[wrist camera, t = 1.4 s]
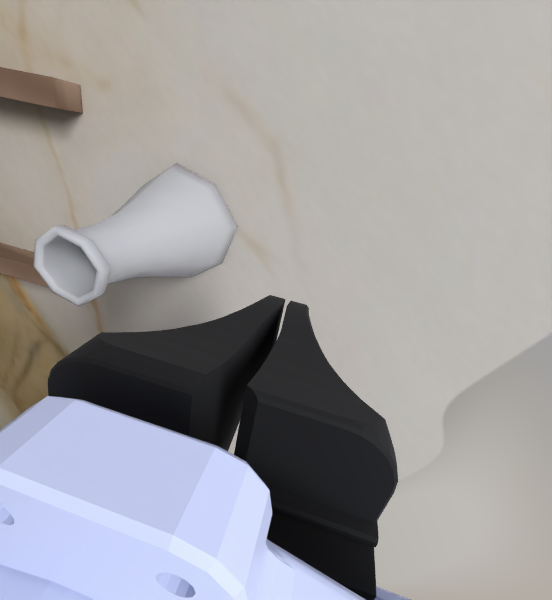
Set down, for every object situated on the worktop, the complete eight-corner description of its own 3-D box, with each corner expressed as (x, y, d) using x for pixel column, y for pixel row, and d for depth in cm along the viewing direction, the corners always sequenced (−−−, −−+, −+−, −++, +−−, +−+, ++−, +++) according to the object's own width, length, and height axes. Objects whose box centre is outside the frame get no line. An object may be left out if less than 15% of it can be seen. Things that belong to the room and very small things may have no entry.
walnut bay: (100, 297, 26) (81, 307, 24) (-24, 261, 27) (-51, 268, 25) (78, 65, 18) (48, 55, 17) (-89, 34, 20) (-132, 22, 18)
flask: (122, 221, 22) (-31, 261, 13) (176, 140, 19) (20, 122, 10) (195, 291, 23) (98, 371, 14) (257, 226, 20) (181, 278, 11)
